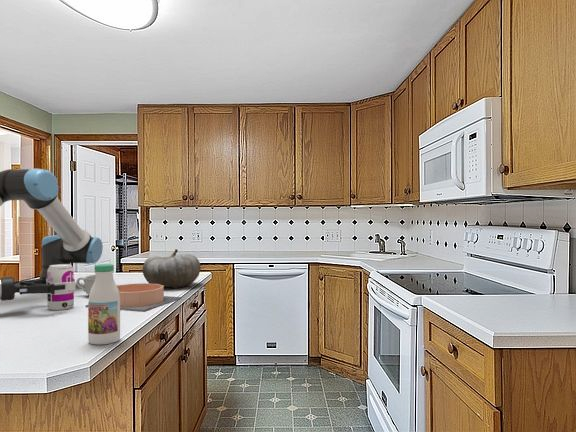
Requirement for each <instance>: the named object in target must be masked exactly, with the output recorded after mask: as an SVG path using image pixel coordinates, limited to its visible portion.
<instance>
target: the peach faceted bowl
mask: <svg viewBox="0 0 576 432" xmlns="http://www.w3.org/2000/svg"><path fill="white" fill-rule="evenodd" d="M116 286H117V288H118V291H119V295H120V311H131V312H143V313H144V312H147V311H151V310H154V309H156V308H159V307H162V306H163V305H167V304H170V303H173V302H175V301H178V300H181V299H182V297H181V296H169V295H164V294H165V287H164V285H160V284H150V283H148V282H142V283H141V282H140V283H127V284H125V283H124V284H118V285H117V284H116ZM85 308H88V304H86V305H85Z"/></svg>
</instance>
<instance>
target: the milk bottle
mask: <svg viewBox="0 0 576 432" xmlns="http://www.w3.org/2000/svg"><path fill="white" fill-rule="evenodd" d="M114 269H115V267H114V264H113V263H101V264H100V263H99V264H95V265H94V275H96V278H95V281H94V284H93V286H92V288H91V291H90V294H89V295H88V304H87V305H88V307H87V309H88V310H87V313H88V314H87V317H88V318H87V319H88V320H87V322H88V323H87V324H88V325H87V326H88V327H87V329H88V330H87V332H88V335H87V337H88V338H87V339H88V340H87V341H88V343H89V344H91V345H95V346H97V345H99V346H100V345H101V346H103V345H109V344H114V343H117V342H119V341H120V339H121V310H120V295H119V291H118V288H117V286H116V285H117V284H116V282H115V279H114V273H115V272H114Z"/></svg>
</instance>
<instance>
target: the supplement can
mask: <svg viewBox="0 0 576 432" xmlns="http://www.w3.org/2000/svg"><path fill="white" fill-rule="evenodd" d="M74 270H75V268H74V267H73V264H72V263H71V264H58V265H50V266H49V268H48V270H47V284H54V283H64V282H74V279H75V275H74V274H75V271H74ZM46 294H47V298H46V299H47V300H46V301H47V306H46V307H47V309H49V310H50V311H64V310H68V309H69V310H70V309H72V308H73V307H74V306H75V302H74V301H75V295H74V294H75V290H68V291H58V292H55V294H51V293H46Z"/></svg>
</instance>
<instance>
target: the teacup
mask: <svg viewBox="0 0 576 432" xmlns="http://www.w3.org/2000/svg"><path fill="white" fill-rule="evenodd" d="M95 278H96V274H90V275H87V276H84V277H83V276H80V277H78V278H77V279H76V280H75V284H76V286H77V287H79V288H80V289H82V290H83V292H85V294H87V295H88V296H89V294H90V291H91V288H92V286H93V284H94V281H95ZM81 280H82V281H83V283H84V286H83V285H82V284H81V283H80V281H81Z"/></svg>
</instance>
